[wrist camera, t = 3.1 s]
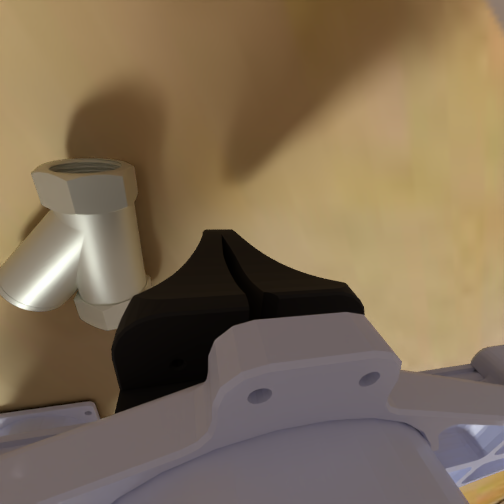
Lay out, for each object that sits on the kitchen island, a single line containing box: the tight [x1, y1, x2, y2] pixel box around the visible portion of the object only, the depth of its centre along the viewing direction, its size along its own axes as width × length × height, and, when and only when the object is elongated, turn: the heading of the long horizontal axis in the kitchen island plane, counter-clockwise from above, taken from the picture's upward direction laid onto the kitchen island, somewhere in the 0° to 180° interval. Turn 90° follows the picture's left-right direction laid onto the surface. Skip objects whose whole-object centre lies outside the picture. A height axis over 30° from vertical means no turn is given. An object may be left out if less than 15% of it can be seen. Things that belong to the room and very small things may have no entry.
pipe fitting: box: [0, 158, 152, 331], centre depth 13 cm, size 8×4×7 cm
